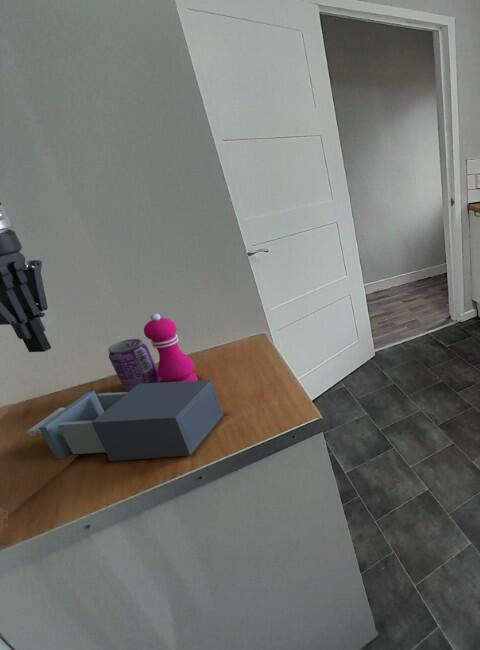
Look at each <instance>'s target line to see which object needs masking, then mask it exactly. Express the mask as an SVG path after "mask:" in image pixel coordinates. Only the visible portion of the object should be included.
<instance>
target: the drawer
mask: <svg viewBox="0 0 480 650" xmlns="http://www.w3.org/2000/svg"><path fill="white" fill-rule="evenodd" d="M127 393H128V392H127V391H121V392H120V391H119V392H102V393H101V392H100V393H98V394H97V393H96V391H95V390H89V391H87V392H86V393H84V394H83V395H81V396H80V397H79V398H77V399H76V400H74V401H73V402H72V403H71V404H69V405H67V406H66V407H59V408H57V409H56V410H55V411H53V412H51V413H50V414H49V415H48V416H46V417H45V418H44V419H42V420H40V421H39V422H37V424H35V425H34V426H32V427H31V428H30V429H28V430H26V434H27V435H28V436H29V437H36V436H37V435H38V434H41V435H42V437H43V439H44V440H45V441H46V443H47V445H48V447H49V448H50V450H51V452H52V453H53V455H54V457H55V459H56V460H63V459H64V458H66V457H67V456H68V455H69V454H71V453H72V454H73V455H83V454H84V455H85V454H98V453H100V454H101V453H106V451H105V449H104V447H103V445H102V443H101V441H100V439H99V437H98V435H97V433H96V431H95V429H94V427H93V425H92V423H91V422H92V421H94V420H95V419H96V418H97V417H99V416H100V415H101V414H102V413H103V412H105V411H106V410H107V409H108V408H110V407H111V406H112V405H113V404H115V403H116V402H117V401H118V400H119V399H121V398H122V397H123V396H124V395H126V394H127Z"/></svg>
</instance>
